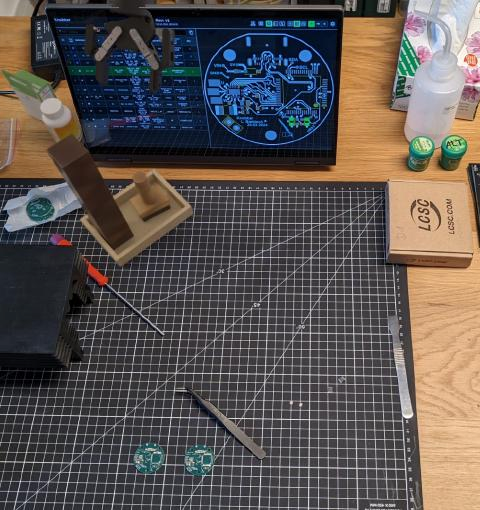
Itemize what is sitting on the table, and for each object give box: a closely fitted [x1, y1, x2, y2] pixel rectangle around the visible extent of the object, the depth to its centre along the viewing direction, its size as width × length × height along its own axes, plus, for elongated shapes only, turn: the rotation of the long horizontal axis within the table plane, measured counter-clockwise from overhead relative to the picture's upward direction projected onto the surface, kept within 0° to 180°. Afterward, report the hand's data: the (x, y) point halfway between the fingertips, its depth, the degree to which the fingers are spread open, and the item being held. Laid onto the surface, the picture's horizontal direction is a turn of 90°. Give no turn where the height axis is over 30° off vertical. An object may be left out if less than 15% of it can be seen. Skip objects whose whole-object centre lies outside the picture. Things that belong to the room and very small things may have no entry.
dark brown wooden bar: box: [45, 134, 134, 250], centre depth 103 cm, size 4×4×26 cm
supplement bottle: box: [40, 97, 83, 144], centre depth 121 cm, size 5×5×10 cm
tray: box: [79, 168, 194, 267], centre depth 116 cm, size 17×12×4 cm
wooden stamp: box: [130, 171, 171, 222], centre depth 113 cm, size 6×4×10 cm, turn 124°
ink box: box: [0, 68, 58, 122], centre depth 122 cm, size 7×4×13 cm, turn 62°
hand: (128, 89), depth 103 cm, fingers open, 8 cm apart
